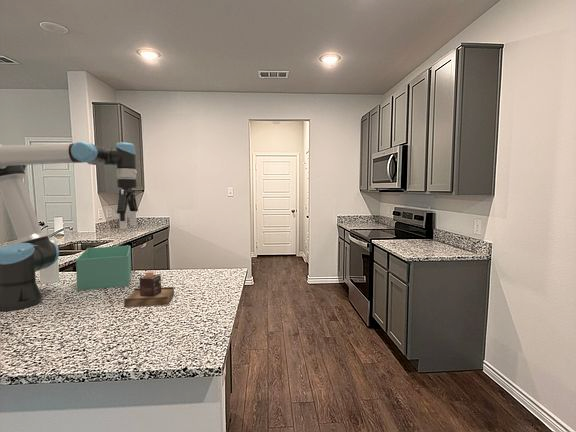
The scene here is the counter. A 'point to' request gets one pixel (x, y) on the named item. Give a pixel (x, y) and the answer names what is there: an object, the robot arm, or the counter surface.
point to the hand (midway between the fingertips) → (128, 227)
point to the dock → (149, 298)
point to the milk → (50, 270)
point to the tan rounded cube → (149, 274)
